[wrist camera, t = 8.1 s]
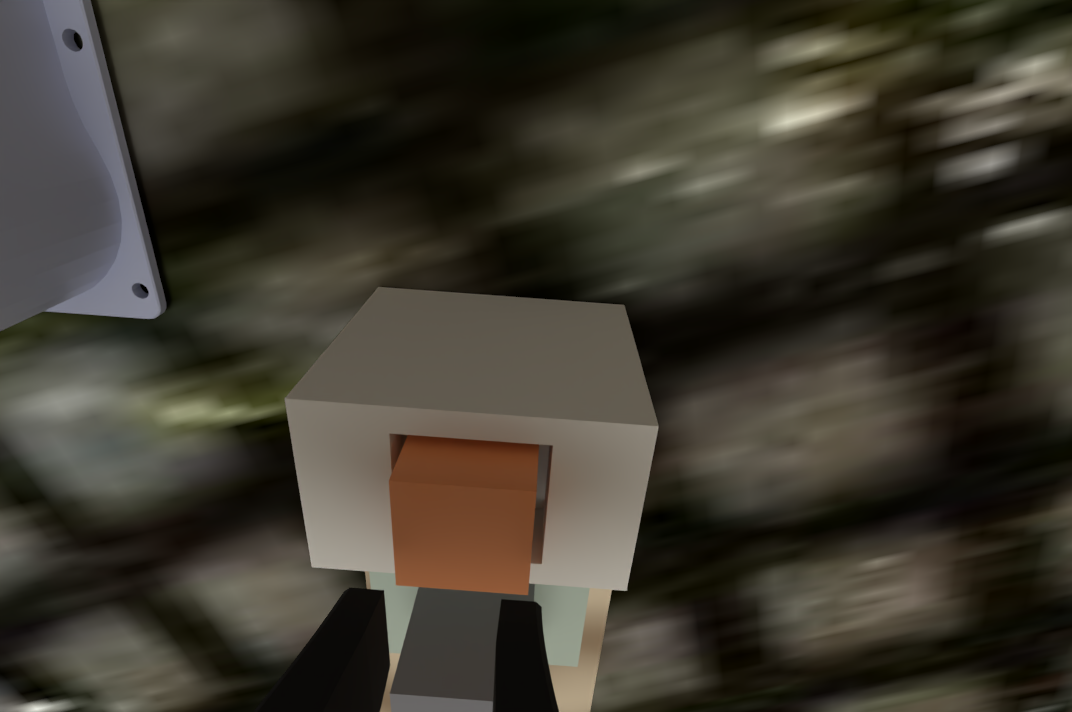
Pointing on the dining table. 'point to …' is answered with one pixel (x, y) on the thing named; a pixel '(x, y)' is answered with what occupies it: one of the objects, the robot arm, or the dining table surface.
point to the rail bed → (567, 681)
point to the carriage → (465, 640)
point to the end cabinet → (479, 422)
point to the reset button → (464, 514)
